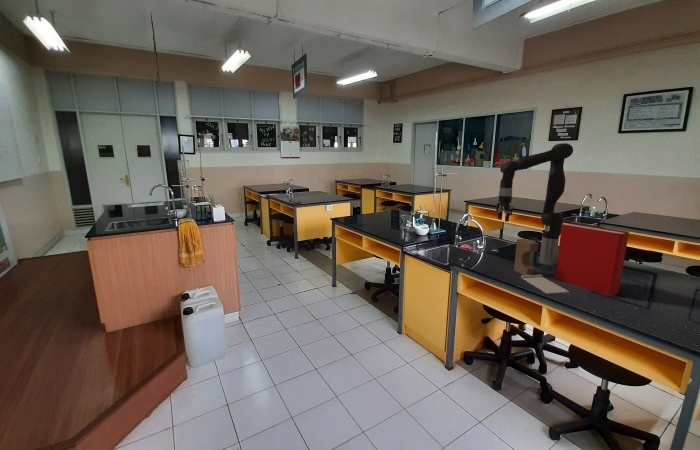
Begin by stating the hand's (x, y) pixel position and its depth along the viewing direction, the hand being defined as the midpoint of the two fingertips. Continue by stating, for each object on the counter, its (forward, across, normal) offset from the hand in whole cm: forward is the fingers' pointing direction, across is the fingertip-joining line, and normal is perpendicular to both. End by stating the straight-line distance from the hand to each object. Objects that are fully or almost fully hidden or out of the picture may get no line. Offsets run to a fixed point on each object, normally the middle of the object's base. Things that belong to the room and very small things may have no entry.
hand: (503, 220), depth 207 cm
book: (+28, -44, -23) cm, 57 cm away
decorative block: (+28, -23, -2) cm, 36 cm away
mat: (+28, -40, -2) cm, 49 cm away
